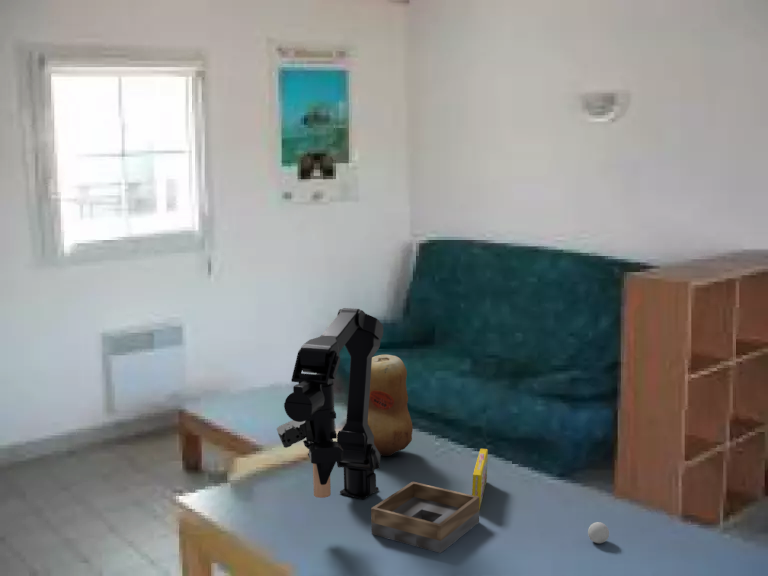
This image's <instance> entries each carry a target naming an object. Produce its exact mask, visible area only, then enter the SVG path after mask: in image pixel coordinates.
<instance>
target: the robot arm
mask: <svg viewBox="0 0 768 576" xmlns="http://www.w3.org/2000/svg"><path fill="white" fill-rule="evenodd" d="M383 336H384V326H383V323H382V322H381V321H380V320H379V319H378V318H377V317H375V316H373V315H370V314H368V313H366V312H365V311H364V310H362V309H360V308H351V307H350V308H349V307H348V308H346V307H344V308H340V309H338V311H337V316H336V317H335V318H334V319H333V320H332V322H331V323H330V324H329V325H328V327H326V329H325V330H324V332H323V333H322V334H321V335H320V336H318V337H315V338H314V337H313V338H311V339H309V340H307V341H306V342H305V343H303V345H301V347H300V349H299V350H298V352H297V355H296V360H295V363H294V368H293V370H292V371H293V372H292V377H291V383H298V384H295V385H294V386H293V390H292V391H293V392H291V393H290V394H288V395H287V397H286V398H285V401H284V403H283V407H284V411H285V413H286V415H287V416H288V418H289V419H290V421H288V422H285V423H283V424H281V425H279V426H277V428H276V431H277V434H278V436H279V439H280V442H281V443H282V446H283V448H286V449H287V448H290V447H292V446H293V445H294V444H297V443H298V442H301V441H302V442H303V444H304V447H305V448H306V449H307V450H308V452H307V456H308V458H309V461H310V463H311V464H312V465H313V464H316V466H317V471H318V475H319V480H320V484H321V485H325V484H326V483H327V481H328V479H329V476H330V477H331V474H332V471H333V469H334V467H335V465H337V468H343V489H341V490H340V491H339V494H340V495H344V496H347V497H352V498H357V499H360V500H364V499H366V498H368V497H370V496H372V495H373V494H376V492H378V491H380V489H379V487H378V486H377V474H376V472H375V470H379V469H380V468H381V467H380V466H381V455H380V453H379V451H378V450H377V448H376V446H375V445H374V435H373V433H372V431H371V429H370V427H369V425H368V410H369V395H370V380H371V364H372V357H375V354H376V353H377V352H378V350H379V348H380V346H381V340H382V339H383ZM344 347H345V349H346V351H347V352H348V354H349V357H350V363H349V364H350V365H349V377H348V391H347V392H348V393H347V406H346V407H347V409H346V419H345V421H346V423H345V424H344V425H343V426H342V429H340V430H339V431H338V432H336V424H335V423H336V422H335V421H336V420H335V419H337V413H336V411H335V386H334V384H335V383H334V380H335V379H336V378H337V373H338V370H339V366H340V364H341V357H340V352H341V350H343V348H344ZM335 439H336V440H335Z"/></svg>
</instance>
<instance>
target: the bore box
mask: <svg viewBox="0 0 768 576" xmlns="http://www.w3.org/2000/svg"><path fill="white" fill-rule="evenodd" d="M370 516H371V517H370V524H371V535H374V536H377V537H381V538H385V539H389V540H392V541H396V542H399V543H402V544H403V543H404V544H407V545H410V546H413V547H418V548H420V549H421V548H422V549H424V550H428V551H432V552H436V553H439V554H442V553H443V552H445V550H447V549H448V548H450V546H452V545H453V544H454V543H455V542H457V541H458V540H459V539H460V538H462V537H463V536H464V535H465V534H466V533H468V532H469V531H471V529H473V528H474V527H475V526H476V525H478V524H479V523H480V510H479V497H477V496H473V495H472V494H468V493H464V492H459V491H455V490H451V489H446V488H442V487H438V486H433V485H428V484H426V483H420V482H416V481H411V482H410V483H408V484H406V485H405V486H404V487H402V488H400V489H399V490H397V491H395V492H394V493H393V494H390V495H389V496H388V497H386V498H385V499H383V500H381V501H380V502H378V503H377V504H376V505H374V506H372V507H370Z"/></svg>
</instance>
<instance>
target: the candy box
mask: <svg viewBox="0 0 768 576" xmlns="http://www.w3.org/2000/svg"><path fill="white" fill-rule="evenodd" d="M488 452H489V449H487V448H480V449H479V452H478V456H477V458H476V463H475V466H474V470H473V473H472V484H471V485H472V488H471V495H473V496H477V497H479V511H480V509H481V505H482V502H483V496H484V494H485V488H486V484H487V481H488V460H489V458H488V457H489V456H488V455H489V453H488Z"/></svg>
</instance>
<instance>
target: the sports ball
mask: <svg viewBox="0 0 768 576" xmlns="http://www.w3.org/2000/svg"><path fill="white" fill-rule="evenodd" d="M587 535H588V537H589V539H590V540H591V541H592V542H593V543H595V544H603V543H605V542H606V541H607V540H608V538H609V537H610V529H609V527H608V526H607V525H606V524H605V523H603V522H601V521H599V522H598V521H596V522H595V521H594V522H593V523H591V524H590V525H589V527H588V531H587Z"/></svg>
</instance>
